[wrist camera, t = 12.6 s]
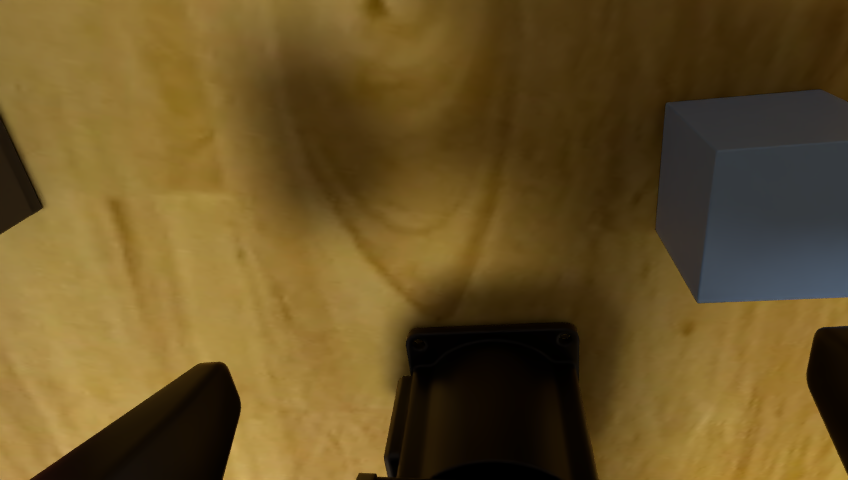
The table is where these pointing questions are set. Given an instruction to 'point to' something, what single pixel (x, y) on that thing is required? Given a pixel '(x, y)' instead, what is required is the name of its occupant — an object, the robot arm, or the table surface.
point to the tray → (14, 186)
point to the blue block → (757, 196)
